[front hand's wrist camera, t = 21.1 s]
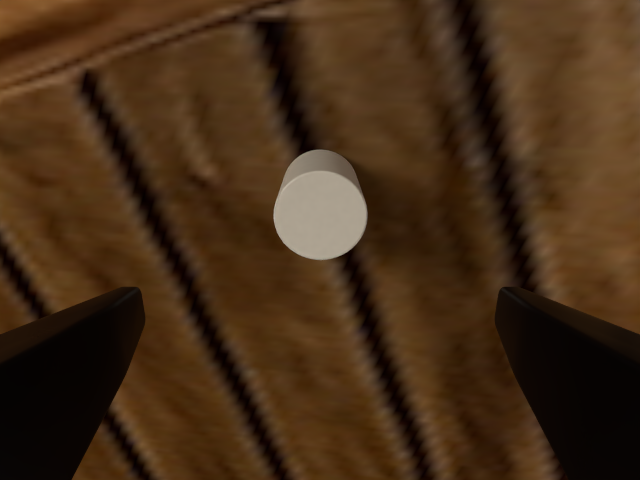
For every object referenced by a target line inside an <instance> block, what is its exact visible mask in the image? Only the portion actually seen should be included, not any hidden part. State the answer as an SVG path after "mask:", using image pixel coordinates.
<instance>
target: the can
mask: <svg viewBox="0 0 640 480" xmlns="http://www.w3.org/2000/svg"><path fill="white" fill-rule="evenodd" d="M274 223H275V227H276V230H277V233H278V235H279V237H280V238H281V240H282V241H283V242H284V244H285V245H286V246H287V247H288V248H290V249H291V250H292V251H293V252H295V253H297V254H299V255H301V256H303V257H306V258H310V259H316V260H326V259H332V258H335V257H338V256H341V255H343V254H344V253H346V252H348V251H349V250H350V249H352V248H353V247H354V246H355V245H356V244H357V243H358V241H359V240H360V239H361V237H362V235H363V233H364V231H365V228H366V224H367V206H366V202H365V199H364V196H363V193H362V190H361V187H360V185H359V182H358V179H357V176H356V173H355V171H354V169H353V167H352V166H351V164H350V163H349V162H348V161H347V160H346V159H345V158H344V157H342V156H341V155H339V154H337V153H335V152H332V151H328V150H313V151H309V152H306V153H304V154H302V155H300V156H299V157H297V158H296V159H295V160H294V161H293V162H292V163H291V164H290V166H289V167H288V169H287V171H286V173H285V176H284V179H283V182H282V185H281V188H280V191H279V194H278V197H277V200H276V203H275V207H274Z"/></svg>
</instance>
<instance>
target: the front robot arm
mask: <svg viewBox="0 0 640 480" xmlns="http://www.w3.org/2000/svg"><path fill="white" fill-rule="evenodd" d="M144 325H145V312H144V306H143V300H142V294H141V291H140V289H139V288H138V287H121V288H118V289H115V290H113V291H110V292H108V293H105V294H103V295H100V296H98V297H95V298H92V299H90V300H87V301H85V302H82V303H80V304H77V305H75V306H72V307H69V308H67V309H64V310H62V311H59V312H57V313H54V314H52V315H49V316H46V317H44V318H41V319H39V320H36V321H34V322H31V323H29V324H26V325H23V326H21V327H18V328H16V329H13V330H11V331H8V332H6V333H3V334H0V480H72V478H73V476H74V474H75V472H76V470H77V468H78V466H79V464H80V462H81V460H82V458H83V457H84V455H85V453H86V451H87V449H88V447H89V445H90V443H91V441H92V439H93V437H94V435H95V433H96V432H97V430H98V428H99V426H100V424H101V422H102V420H103V418H104V416H105V414H106V412H107V410H108V408H109V406H110V405H111V403H112V401H113V399H114V397H115V395H116V393H117V391H118V389H119V387H120V385H121V383H122V381H123V379H124V377H125V375H126V373H127V370H128V368H129V365H130V363H131V360H132V357H133V355H134V352H135V349H136V347H137V344H138V341H139V339H140V336H141V333H142V331H143V328H144ZM495 325H496V328H497V331H498V333H499V336H500V339H501V341H502V344H503V347H504V349H505V352H506V355H507V357H508V360H509V363H510V365H511V368H512V370H513V373H514V375H515V377H516V379H517V381H518V383H519V385H520V387H521V389H522V391H523V393H524V395H525V397H526V399H527V401H528V403H529V405H530V407H531V408H532V410H533V412H534V414H535V416H536V418H537V420H538V422H539V424H540V426H541V428H542V430H543V432H544V433H545V435H546V437H547V439H548V441H549V443H550V445H551V447H552V449H553V451H554V453H555V455H556V457H557V458H558V460H559V462H560V464H561V466H562V468H563V470H564V472H565V474H566V476H567V478H568V480H640V334H637V333H634V332H632V331H629V330H627V329H624V328H622V327H619V326H617V325H614V324H611V323H609V322H606V321H604V320H601V319H599V318H596V317H594V316H591V315H588V314H586V313H583V312H581V311H578V310H576V309H573V308H571V307H568V306H565V305H563V304H560V303H558V302H555V301H553V300H550V299H548V298H545V297H542V296H540V295H537V294H535V293H532V292H530V291H527V290H525V289H522V288H519V287H502V288H501V289H500V291H499V294H498V300H497V306H496V312H495Z"/></svg>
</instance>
